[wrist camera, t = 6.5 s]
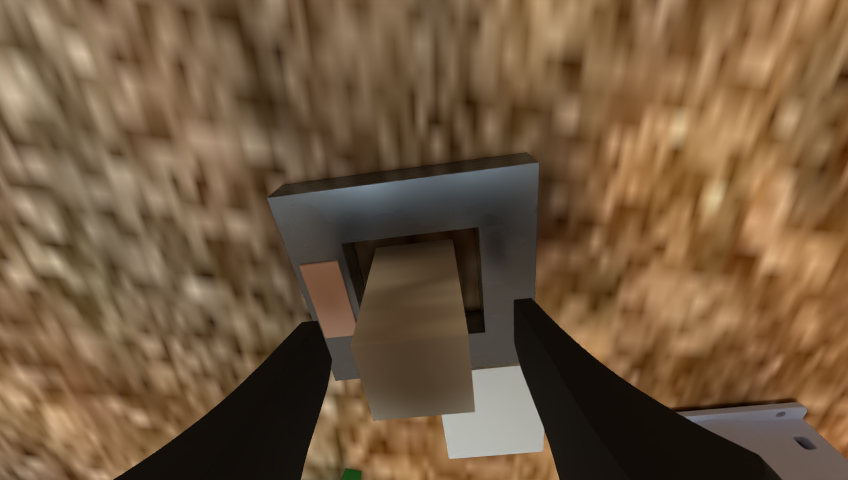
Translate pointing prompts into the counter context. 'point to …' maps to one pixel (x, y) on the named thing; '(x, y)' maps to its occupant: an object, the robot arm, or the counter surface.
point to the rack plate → (410, 215)
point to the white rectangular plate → (496, 416)
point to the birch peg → (414, 334)
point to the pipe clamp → (351, 475)
